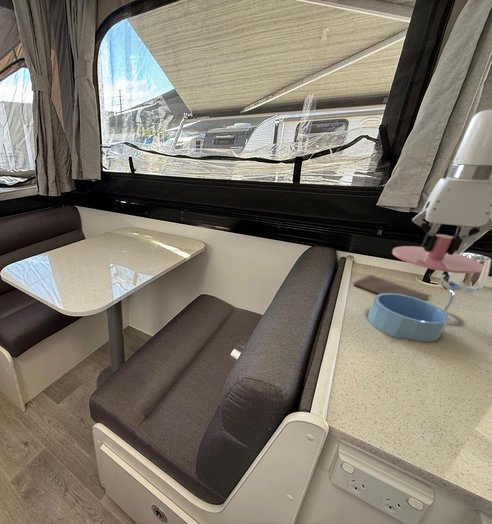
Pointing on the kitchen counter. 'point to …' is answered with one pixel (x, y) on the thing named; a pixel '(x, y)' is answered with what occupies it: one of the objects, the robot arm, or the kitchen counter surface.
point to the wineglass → (465, 279)
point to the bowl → (407, 317)
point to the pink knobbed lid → (438, 257)
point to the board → (386, 288)
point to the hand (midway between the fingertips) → (437, 250)
